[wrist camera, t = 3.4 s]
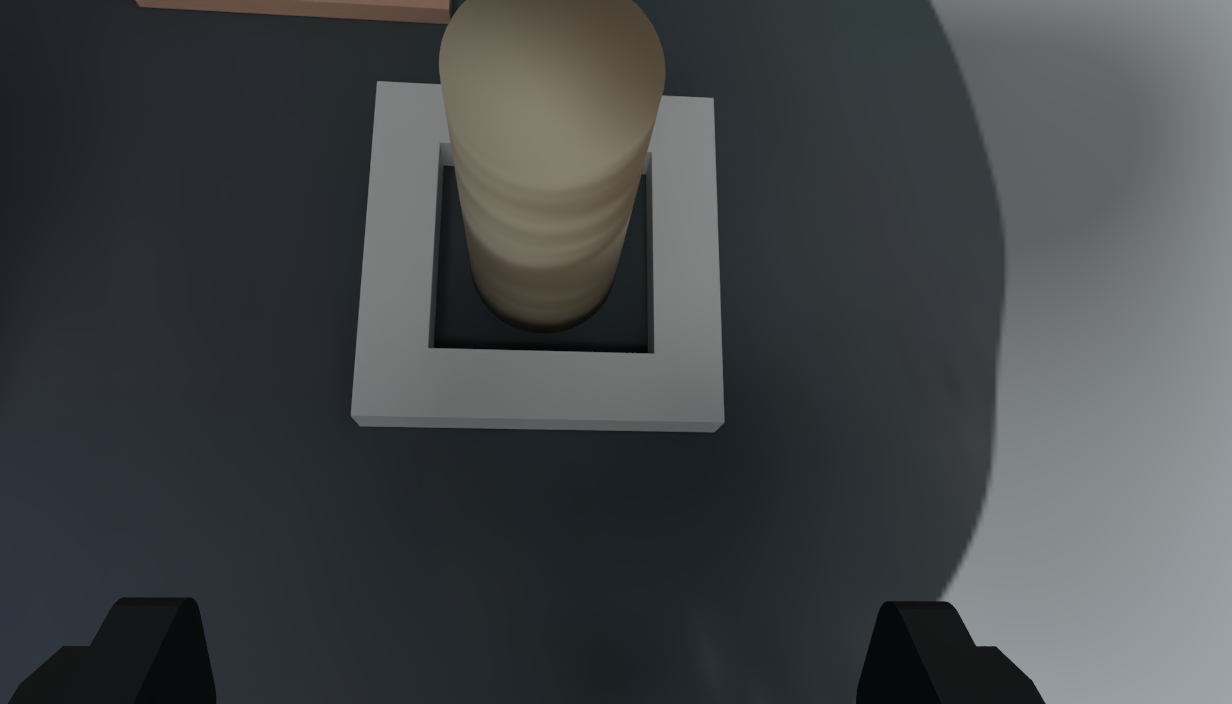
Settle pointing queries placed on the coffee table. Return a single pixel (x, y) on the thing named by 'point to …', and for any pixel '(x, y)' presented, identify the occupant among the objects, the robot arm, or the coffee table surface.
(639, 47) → the birch peg
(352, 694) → the coffee table surface
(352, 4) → the terracotta tile
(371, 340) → the pocket block
